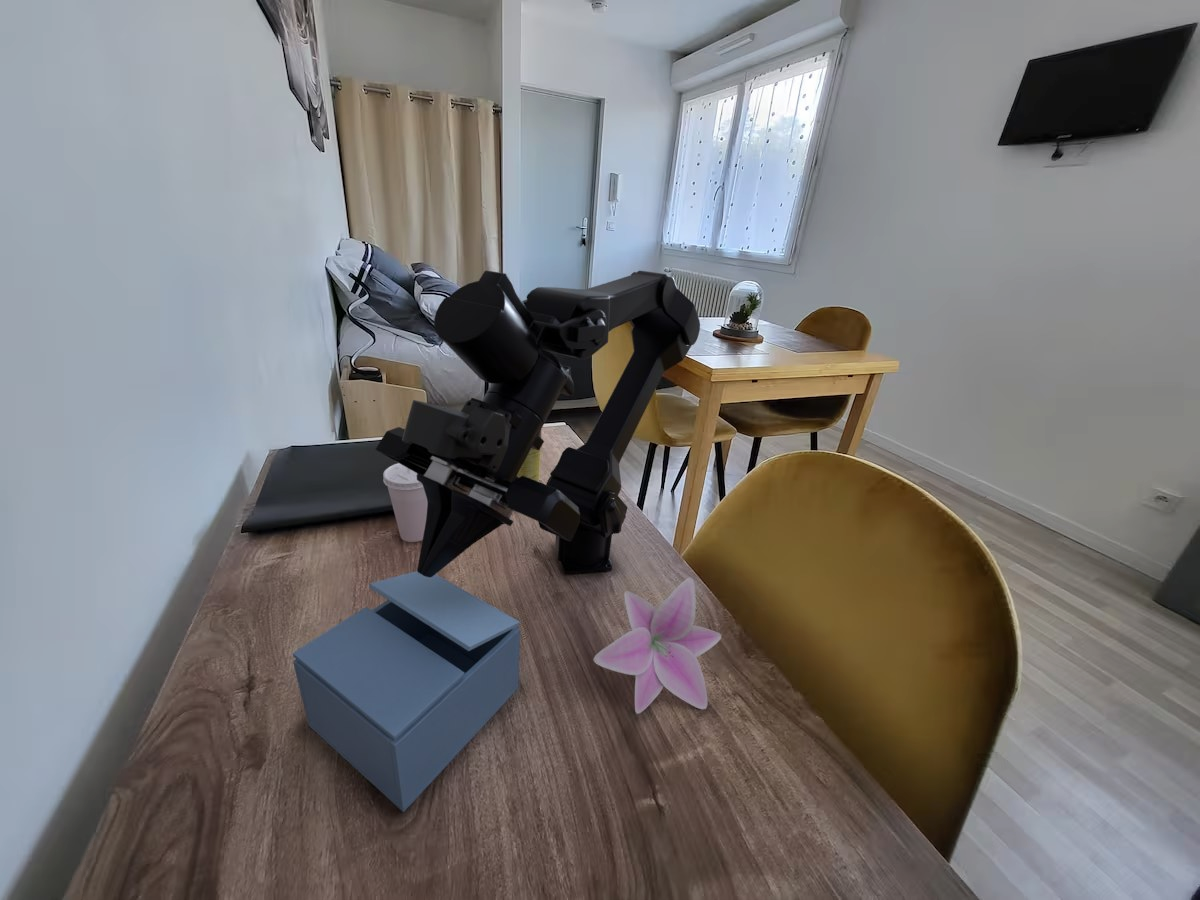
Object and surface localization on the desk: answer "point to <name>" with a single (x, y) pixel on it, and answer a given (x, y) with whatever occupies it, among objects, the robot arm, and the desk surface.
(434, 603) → the flap
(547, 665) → the desk surface
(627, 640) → the lily
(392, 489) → the smoothie
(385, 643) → the carton
